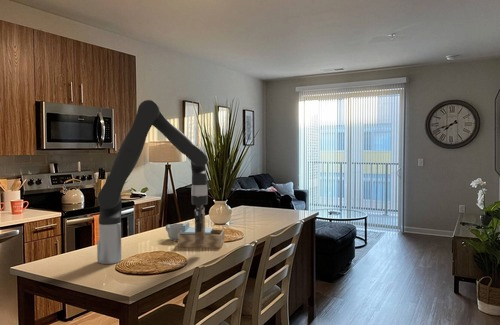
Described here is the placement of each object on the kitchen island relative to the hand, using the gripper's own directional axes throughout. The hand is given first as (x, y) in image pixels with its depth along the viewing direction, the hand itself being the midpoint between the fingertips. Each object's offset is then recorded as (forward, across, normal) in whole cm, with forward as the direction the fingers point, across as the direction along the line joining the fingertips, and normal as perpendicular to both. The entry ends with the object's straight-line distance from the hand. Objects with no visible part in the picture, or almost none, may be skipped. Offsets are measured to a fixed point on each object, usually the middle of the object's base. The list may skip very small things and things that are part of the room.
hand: (199, 230), depth 176 cm
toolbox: (+12, -17, -2) cm, 21 cm away
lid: (+4, -17, -5) cm, 18 cm away
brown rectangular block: (+6, 0, 0) cm, 6 cm away
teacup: (+12, -30, -19) cm, 37 cm away
